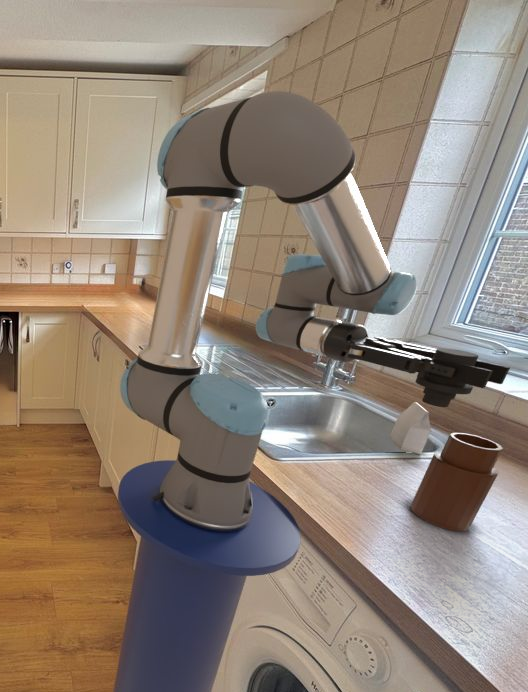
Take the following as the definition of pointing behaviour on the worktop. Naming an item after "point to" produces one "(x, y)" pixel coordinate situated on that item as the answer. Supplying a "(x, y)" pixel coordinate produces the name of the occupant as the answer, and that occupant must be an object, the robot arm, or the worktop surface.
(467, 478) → the brown stepped cylinder
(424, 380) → the bung
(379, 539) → the worktop surface
